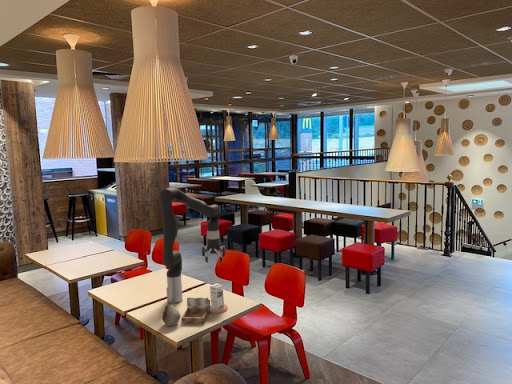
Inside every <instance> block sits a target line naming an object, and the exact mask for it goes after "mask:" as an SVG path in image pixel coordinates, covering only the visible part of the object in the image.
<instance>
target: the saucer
mask: <svg viewBox="0 0 512 384" xmlns="http://www.w3.org/2000/svg"><path fill="white" fill-rule="evenodd" d="M228 308H229V307H228V305H227V304H225V303H224V307H223V308H221V309H219V310H215V309H213V308H211V305H210V309H211V314H222V313H225V312H226V311H228Z"/></svg>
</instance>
